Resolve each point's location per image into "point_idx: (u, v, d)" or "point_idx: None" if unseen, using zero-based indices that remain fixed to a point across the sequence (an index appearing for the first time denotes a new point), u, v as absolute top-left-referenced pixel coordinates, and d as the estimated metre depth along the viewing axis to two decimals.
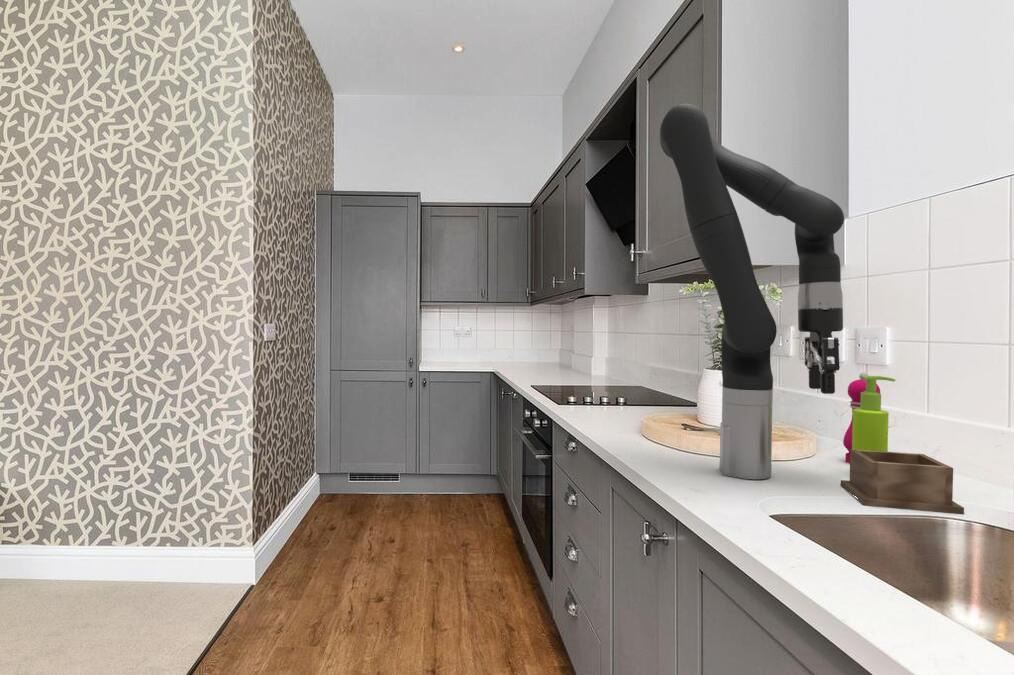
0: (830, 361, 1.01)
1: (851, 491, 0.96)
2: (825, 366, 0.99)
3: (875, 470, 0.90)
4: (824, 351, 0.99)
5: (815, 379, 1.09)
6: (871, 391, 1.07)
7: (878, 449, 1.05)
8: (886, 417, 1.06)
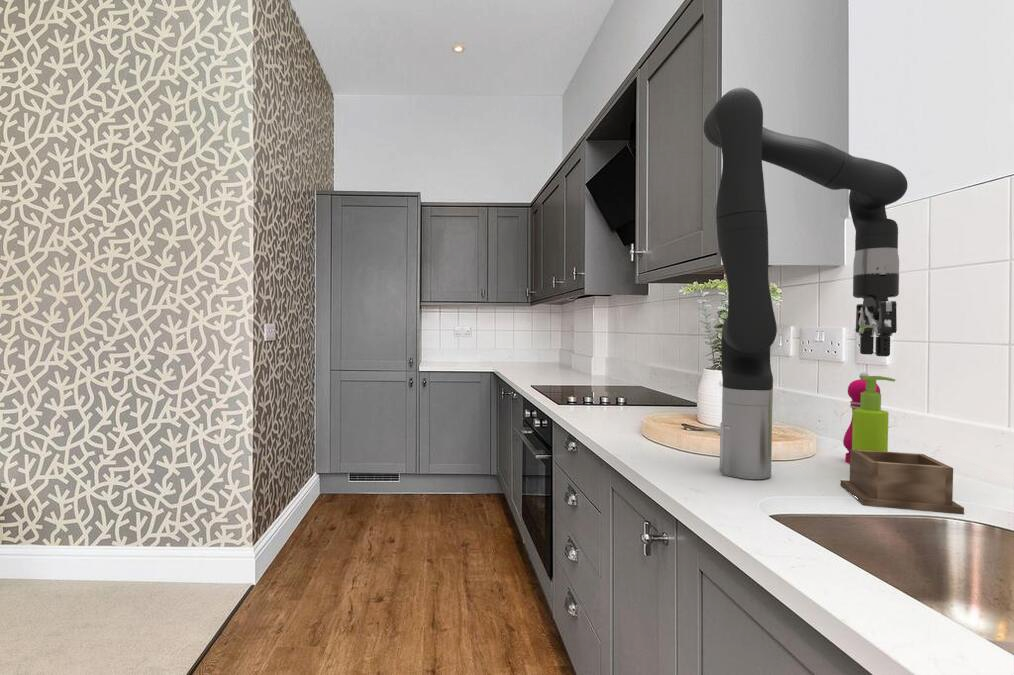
0: (886, 325, 1.04)
1: (851, 491, 0.96)
2: (882, 328, 1.01)
3: (875, 470, 0.90)
4: (882, 314, 1.01)
5: (867, 345, 1.12)
6: (871, 391, 1.07)
7: (878, 449, 1.05)
8: (886, 417, 1.06)
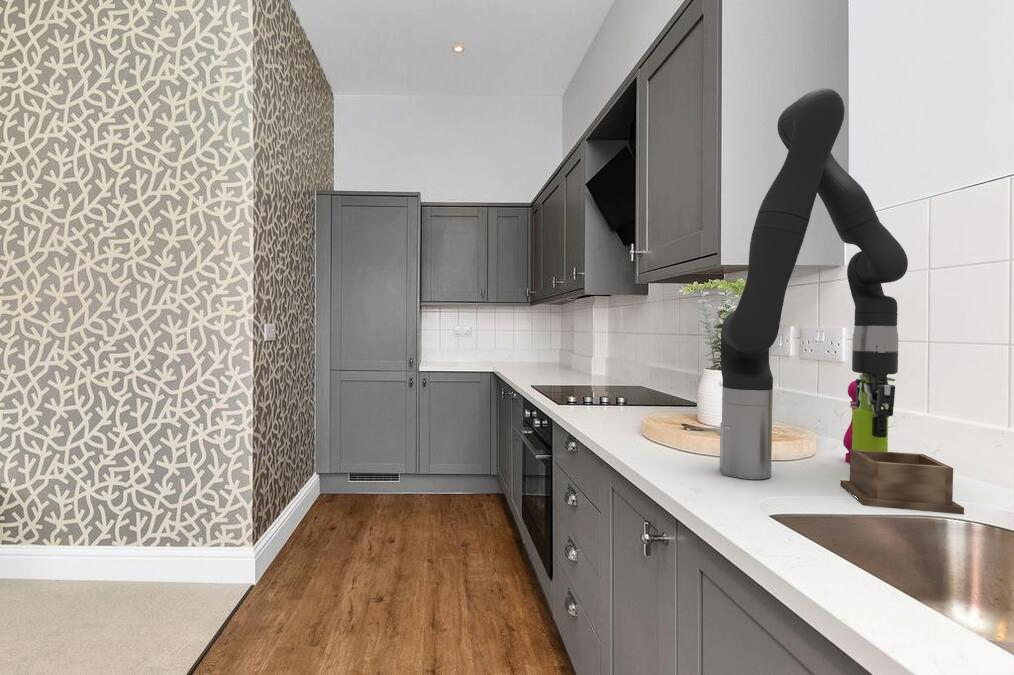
0: (883, 405, 1.05)
1: (851, 491, 0.96)
2: (879, 412, 1.02)
3: (875, 470, 0.90)
4: (879, 398, 1.02)
5: None
6: None
7: (878, 449, 1.05)
8: None
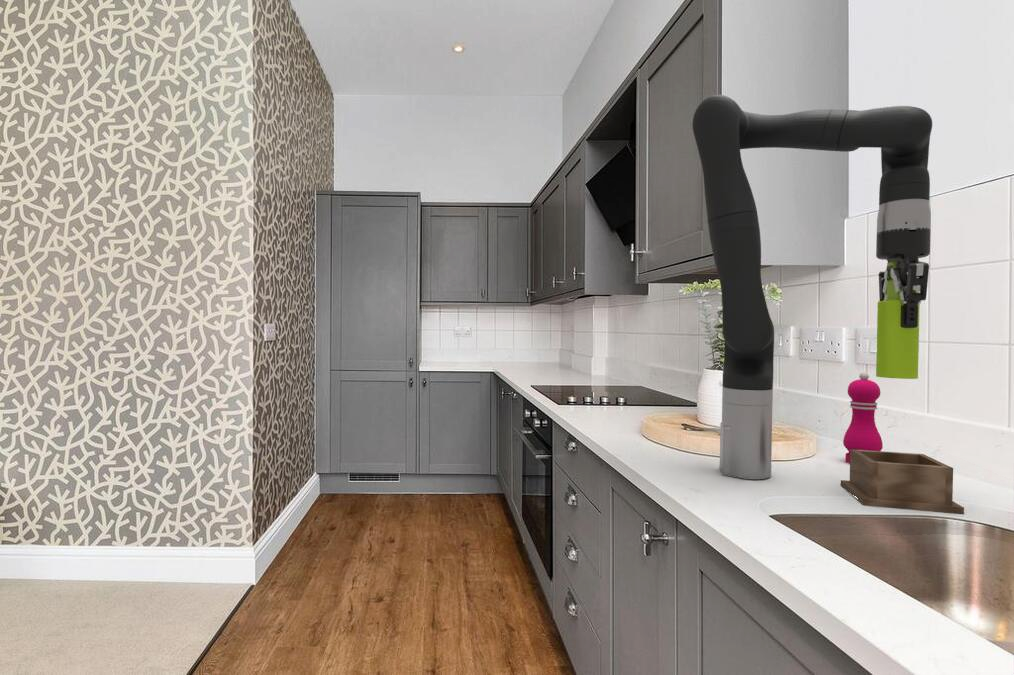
0: (914, 291, 0.91)
1: (851, 491, 0.96)
2: (910, 296, 0.88)
3: (875, 470, 0.90)
4: (911, 279, 0.88)
5: None
6: None
7: (908, 342, 0.91)
8: None
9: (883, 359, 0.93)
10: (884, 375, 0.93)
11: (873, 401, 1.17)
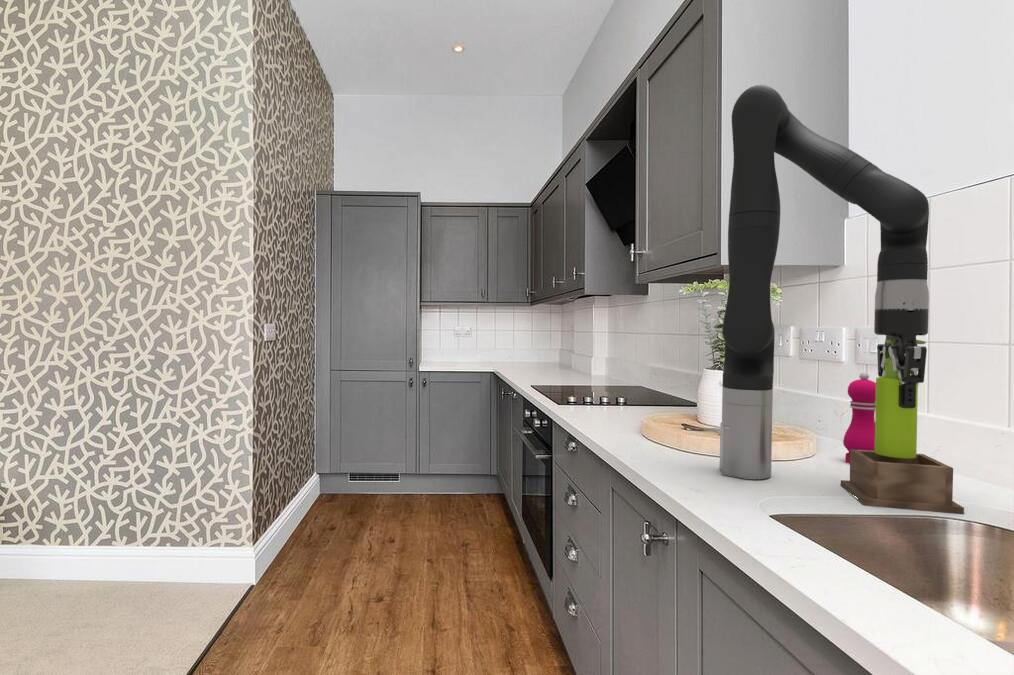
0: (912, 371, 0.91)
1: (851, 491, 0.96)
2: (907, 378, 0.88)
3: (875, 470, 0.90)
4: (908, 362, 0.88)
5: None
6: None
7: (906, 422, 0.91)
8: None
9: (881, 437, 0.93)
10: (882, 453, 0.93)
11: (873, 401, 1.17)
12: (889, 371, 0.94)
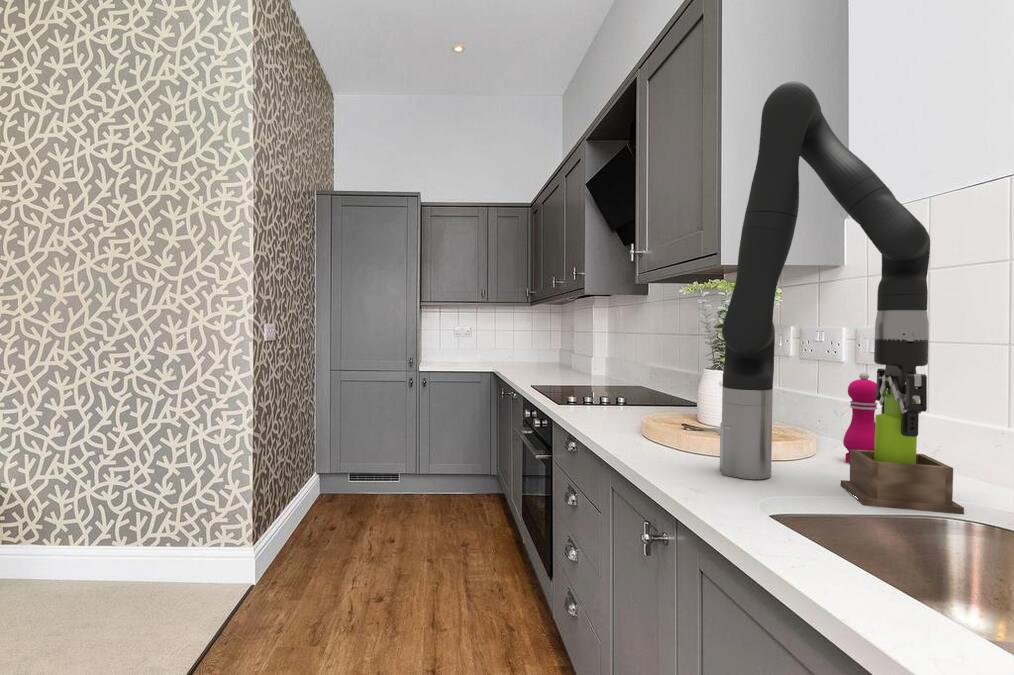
0: (913, 400, 0.90)
1: (851, 491, 0.96)
2: (910, 406, 0.87)
3: (875, 470, 0.90)
4: (909, 389, 0.88)
5: None
6: None
7: (905, 461, 0.91)
8: None
9: None
10: None
11: (873, 401, 1.17)
12: (889, 409, 0.94)
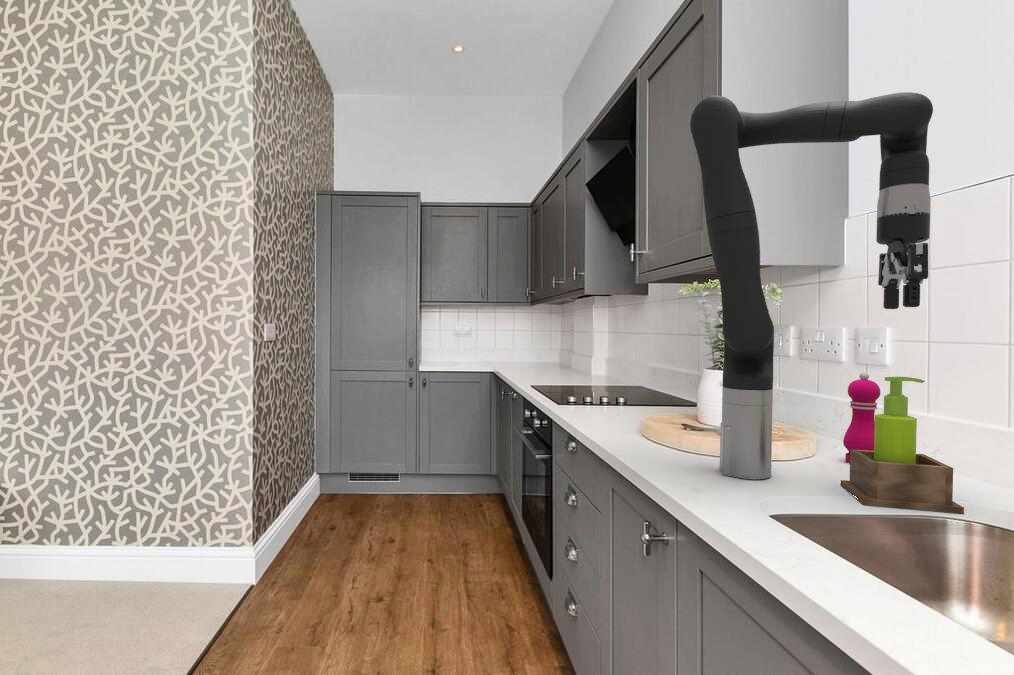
0: (915, 271, 0.91)
1: (851, 491, 0.96)
2: (912, 274, 0.88)
3: (875, 470, 0.90)
4: (911, 257, 0.89)
5: (892, 298, 0.99)
6: (896, 394, 0.93)
7: (905, 461, 0.91)
8: (914, 424, 0.92)
9: None
10: None
11: (873, 401, 1.17)
12: (888, 409, 0.94)
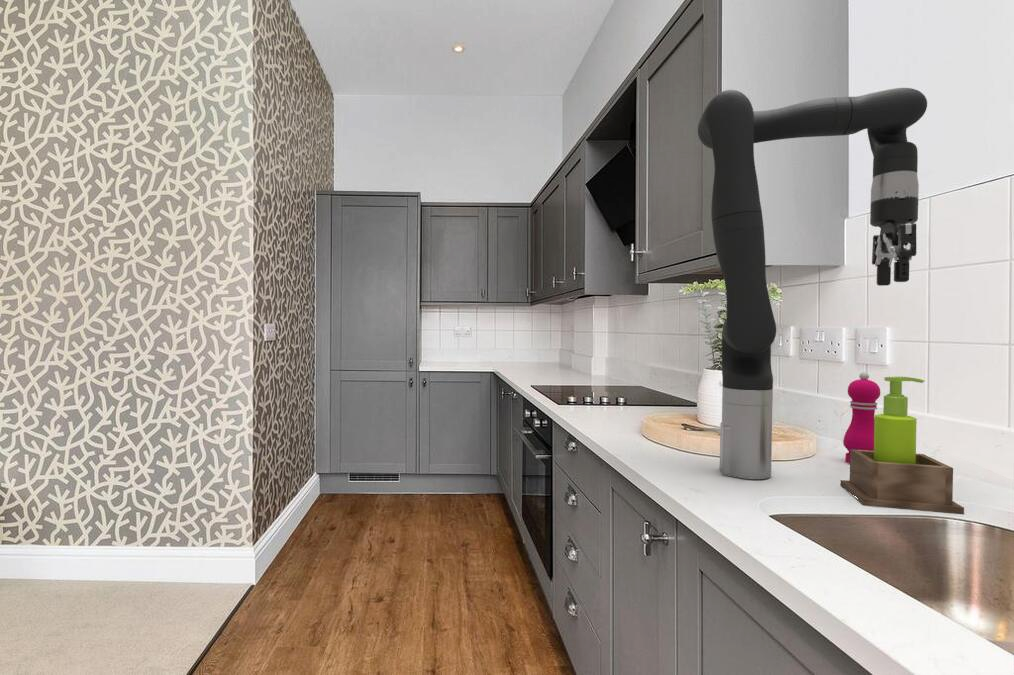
0: (905, 250, 1.01)
1: (851, 491, 0.96)
2: (902, 251, 0.99)
3: (875, 470, 0.90)
4: (901, 236, 0.99)
5: (884, 275, 1.09)
6: (896, 394, 0.93)
7: (905, 461, 0.91)
8: (914, 424, 0.92)
9: None
10: None
11: (873, 401, 1.17)
12: (888, 409, 0.94)
